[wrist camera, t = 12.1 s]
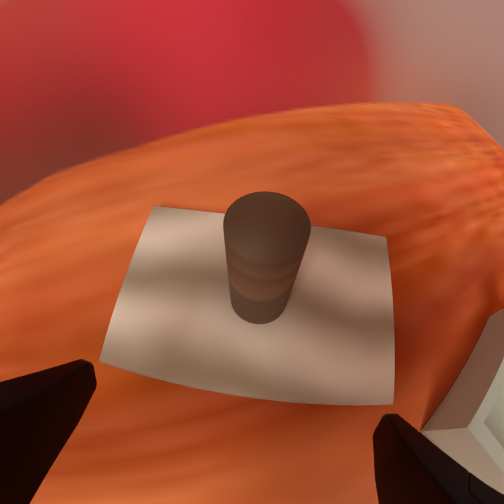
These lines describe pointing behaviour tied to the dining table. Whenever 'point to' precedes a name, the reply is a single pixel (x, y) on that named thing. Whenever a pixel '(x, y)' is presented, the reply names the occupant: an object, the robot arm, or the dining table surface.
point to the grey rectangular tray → (476, 410)
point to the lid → (258, 306)
